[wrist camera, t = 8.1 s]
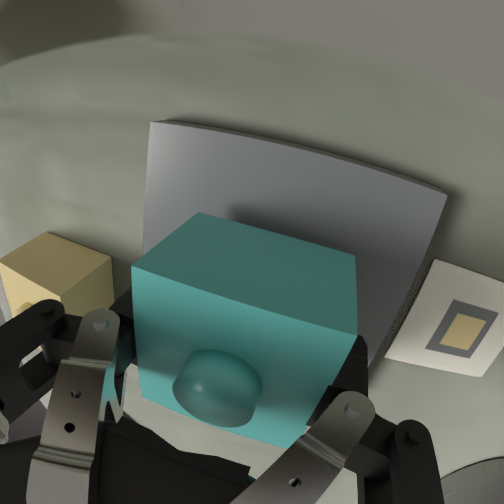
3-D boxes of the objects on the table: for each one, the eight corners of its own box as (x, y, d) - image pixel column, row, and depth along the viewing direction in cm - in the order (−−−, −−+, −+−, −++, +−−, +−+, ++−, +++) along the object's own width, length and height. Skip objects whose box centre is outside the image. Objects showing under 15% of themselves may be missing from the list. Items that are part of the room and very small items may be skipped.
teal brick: (355, 255, 11) (357, 365, 6) (309, 368, 14) (286, 471, 9) (198, 212, 12) (109, 284, 7) (187, 329, 15) (129, 414, 10)
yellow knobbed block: (111, 256, 17) (46, 307, 12) (118, 332, 20) (71, 385, 15) (46, 231, 18) (-15, 268, 13) (58, 302, 21) (10, 343, 16)
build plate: (439, 187, 11) (456, 202, 9) (347, 387, 17) (344, 416, 15) (165, 119, 13) (137, 123, 11) (155, 326, 19) (136, 349, 17)
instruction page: (534, 294, 11) (536, 296, 11) (480, 376, 14) (481, 378, 14) (434, 258, 12) (435, 260, 12) (384, 356, 15) (384, 358, 15)
